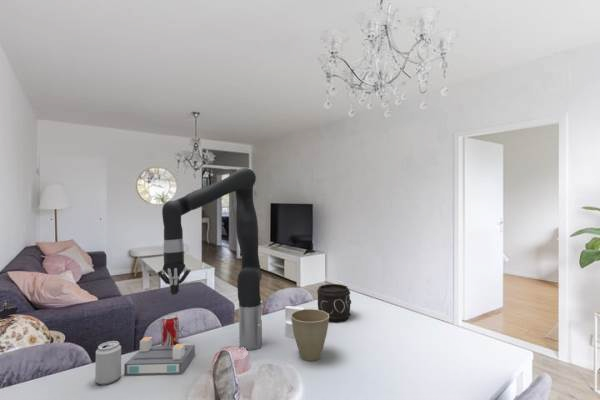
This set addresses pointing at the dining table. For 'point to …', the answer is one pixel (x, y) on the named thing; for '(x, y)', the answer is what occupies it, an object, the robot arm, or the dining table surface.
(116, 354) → the can
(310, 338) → the plant pot
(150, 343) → the slider
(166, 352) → the console
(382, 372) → the dining table surface
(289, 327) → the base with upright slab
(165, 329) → the soda can
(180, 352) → the slider
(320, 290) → the dark brown cylinder
